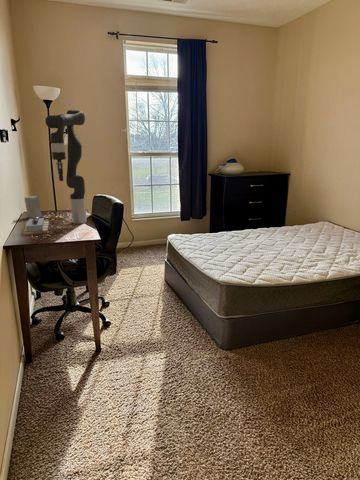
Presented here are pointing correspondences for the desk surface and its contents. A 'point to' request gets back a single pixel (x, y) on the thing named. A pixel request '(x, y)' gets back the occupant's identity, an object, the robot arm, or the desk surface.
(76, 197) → the robot arm
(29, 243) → the desk surface
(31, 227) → the panel
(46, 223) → the board
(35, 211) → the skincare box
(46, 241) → the desk surface
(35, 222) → the bosses
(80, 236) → the desk surface
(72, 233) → the desk surface
